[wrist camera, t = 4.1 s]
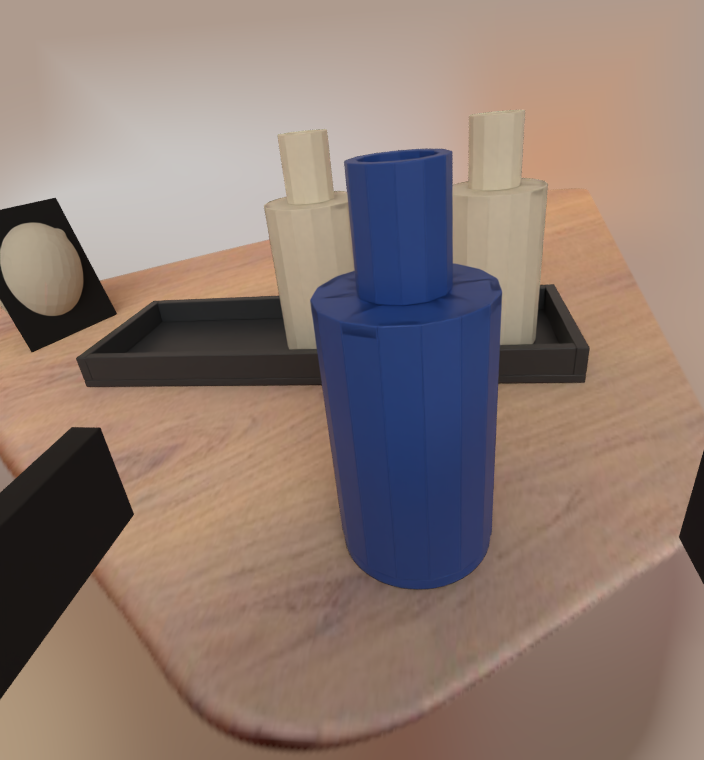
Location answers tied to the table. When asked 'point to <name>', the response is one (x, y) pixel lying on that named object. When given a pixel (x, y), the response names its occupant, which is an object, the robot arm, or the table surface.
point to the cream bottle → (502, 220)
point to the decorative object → (47, 275)
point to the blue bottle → (410, 377)
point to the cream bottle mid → (307, 231)
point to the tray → (284, 347)
